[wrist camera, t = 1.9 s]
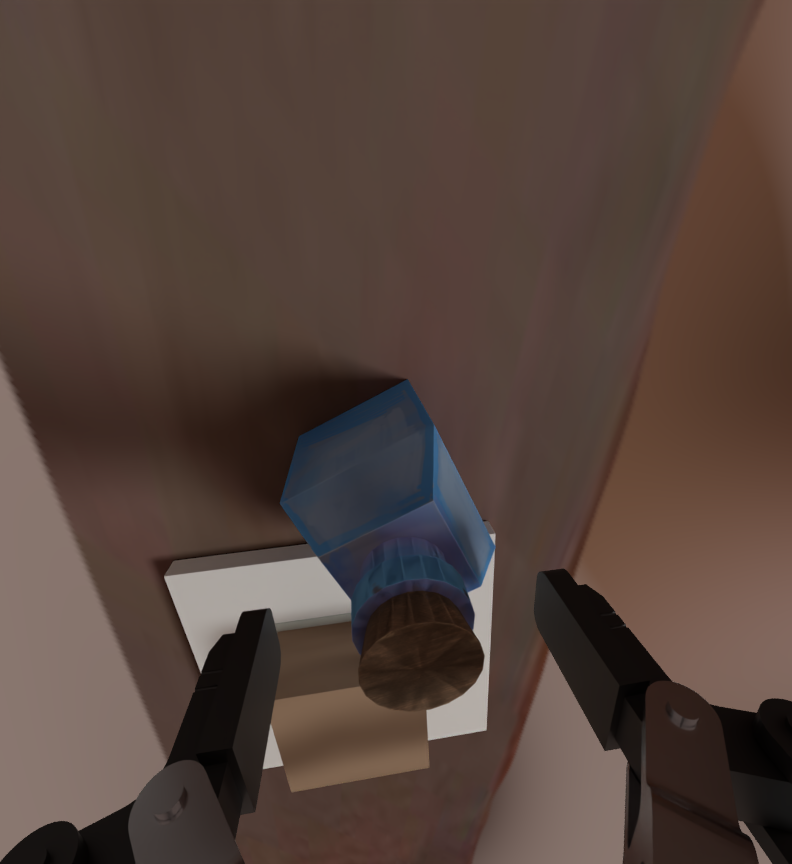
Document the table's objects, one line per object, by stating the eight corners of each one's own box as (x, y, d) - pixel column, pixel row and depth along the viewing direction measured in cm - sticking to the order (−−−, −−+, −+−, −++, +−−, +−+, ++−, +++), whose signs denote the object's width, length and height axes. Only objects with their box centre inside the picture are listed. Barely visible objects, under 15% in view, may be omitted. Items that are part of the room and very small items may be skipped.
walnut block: (277, 631, 23) (264, 701, 19) (412, 612, 23) (424, 676, 20) (299, 718, 26) (291, 792, 22) (417, 698, 26) (429, 767, 23)
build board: (173, 560, 21) (163, 577, 20) (488, 521, 23) (495, 534, 22) (243, 753, 28) (239, 774, 27) (481, 713, 30) (486, 731, 29)
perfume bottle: (358, 523, 22) (370, 775, 11) (299, 436, 19) (237, 648, 8) (456, 474, 21) (572, 686, 10) (407, 379, 19) (492, 524, 8)
